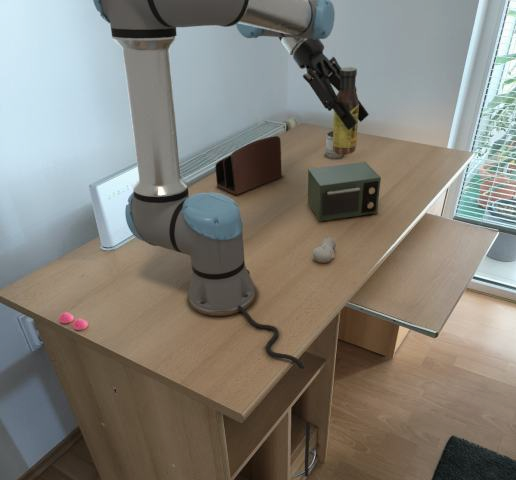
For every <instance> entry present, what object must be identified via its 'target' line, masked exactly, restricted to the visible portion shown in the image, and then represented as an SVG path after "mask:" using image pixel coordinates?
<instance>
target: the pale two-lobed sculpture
mask: <svg viewBox="0 0 516 480" xmlns="http://www.w3.org/2000/svg"><path fill="white" fill-rule="evenodd" d="M336 247H337V244H336V241H335V239H334V238H333V237H326V238H324V239H323V240H322V242H321V245H320V246H318V247H315V248H314V249H313V251H312V257H313V259H314V260H315V261H316V262H317V263H322V264H325V263H326V264H327V263H329V262H330V261H331V260H333V259H334V258H335V249H336Z"/></svg>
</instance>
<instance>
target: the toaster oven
mask: <svg viewBox="0 0 516 480" xmlns="http://www.w3.org/2000/svg"><path fill="white" fill-rule="evenodd" d="M381 181H382V178H381V176H380V175H379V173H377V172H376V170H374V169H373V168H372V167H371V166H370V165H369V163H367V161H358V162H352V163H351V162H350V163H345V164H337V165H336V164H335V165H329V166H322V167H314V168H313V167H312V168H308V169H307V204H308V206H309V208H310V209H311V211H312V212H313V214H314V215H315V217H316V219H317V220H318V222H321V223H325V222H327V221H331V220H337V219H345V218H352V217H358V216H359V217H361V216H366V215H368V216H373V215H375V214H378V207H379V199H380V189H381Z"/></svg>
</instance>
